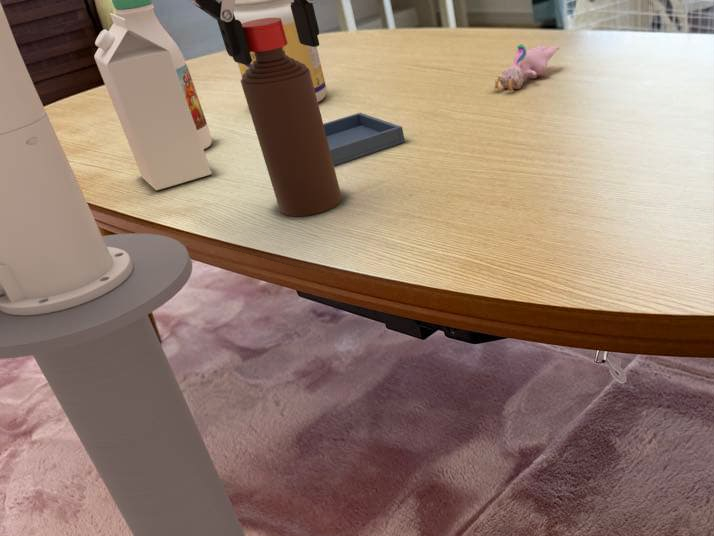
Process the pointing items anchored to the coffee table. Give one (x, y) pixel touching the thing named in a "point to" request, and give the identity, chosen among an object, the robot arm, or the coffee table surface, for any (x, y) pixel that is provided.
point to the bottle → (291, 133)
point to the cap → (264, 34)
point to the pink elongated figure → (526, 66)
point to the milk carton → (150, 106)
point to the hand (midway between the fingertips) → (277, 52)
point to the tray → (360, 136)
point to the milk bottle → (141, 19)
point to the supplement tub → (276, 3)
